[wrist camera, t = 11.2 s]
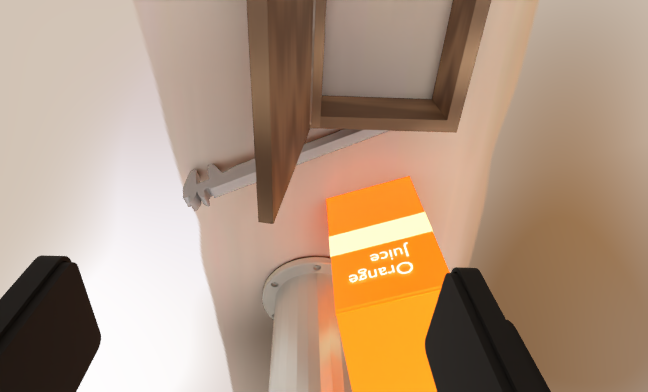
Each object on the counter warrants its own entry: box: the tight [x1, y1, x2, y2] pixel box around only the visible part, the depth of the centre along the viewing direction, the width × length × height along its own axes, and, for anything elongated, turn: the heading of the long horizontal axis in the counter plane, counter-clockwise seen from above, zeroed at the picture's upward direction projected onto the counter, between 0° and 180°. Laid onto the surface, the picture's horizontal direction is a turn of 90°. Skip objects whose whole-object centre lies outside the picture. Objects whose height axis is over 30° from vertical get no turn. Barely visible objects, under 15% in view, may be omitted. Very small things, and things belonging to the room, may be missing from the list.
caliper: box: [183, 129, 390, 211], centre depth 35 cm, size 20×1×6 cm, turn 106°
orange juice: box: [326, 176, 450, 392], centre depth 34 cm, size 8×9×20 cm
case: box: [247, 0, 491, 224], centre depth 23 cm, size 18×15×17 cm
